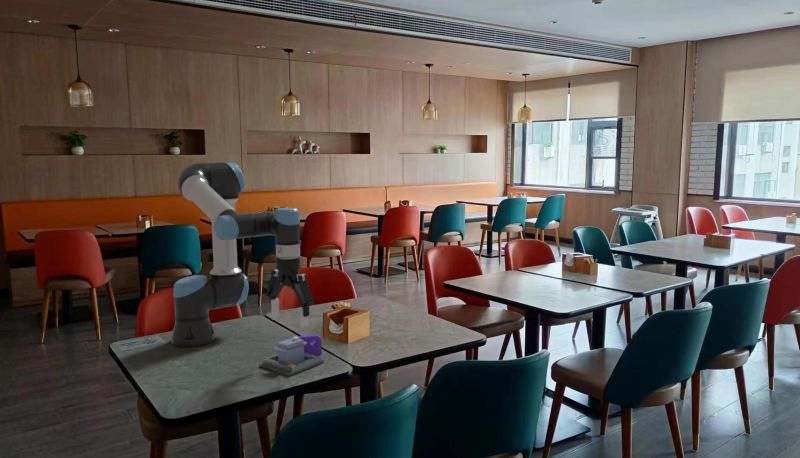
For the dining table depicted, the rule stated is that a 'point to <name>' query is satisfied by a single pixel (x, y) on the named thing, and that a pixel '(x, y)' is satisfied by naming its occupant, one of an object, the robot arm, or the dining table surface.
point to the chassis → (291, 369)
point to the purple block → (312, 344)
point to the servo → (291, 351)
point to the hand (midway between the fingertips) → (289, 322)
